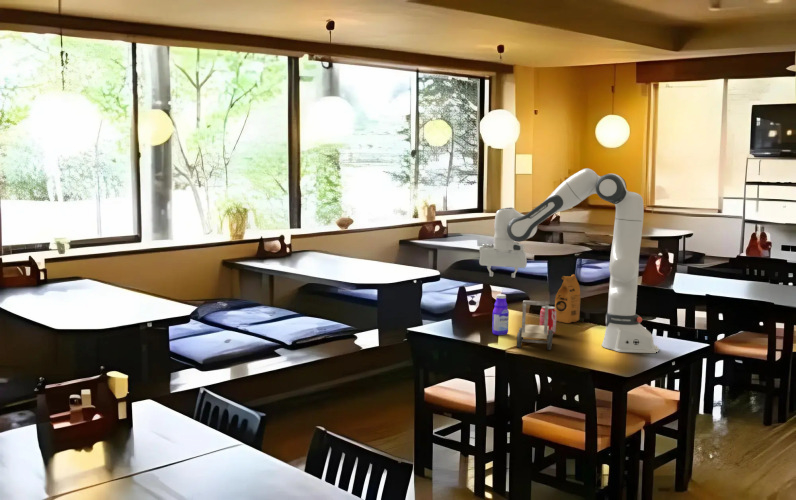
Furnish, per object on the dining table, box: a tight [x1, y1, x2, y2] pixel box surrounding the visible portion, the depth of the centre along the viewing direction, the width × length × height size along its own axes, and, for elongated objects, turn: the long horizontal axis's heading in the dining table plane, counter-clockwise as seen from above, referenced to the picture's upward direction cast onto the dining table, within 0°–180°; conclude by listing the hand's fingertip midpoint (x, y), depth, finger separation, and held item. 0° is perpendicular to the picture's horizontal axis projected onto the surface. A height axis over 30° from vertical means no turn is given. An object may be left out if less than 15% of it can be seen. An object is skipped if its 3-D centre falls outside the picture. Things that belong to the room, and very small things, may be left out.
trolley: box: [516, 299, 554, 351], centre depth 322 cm, size 14×16×20 cm
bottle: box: [491, 293, 510, 336], centre depth 343 cm, size 7×6×17 cm
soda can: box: [539, 305, 557, 335], centre depth 346 cm, size 7×7×12 cm
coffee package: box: [554, 273, 581, 324], centre depth 376 cm, size 10×12×22 cm
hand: (502, 276), depth 341 cm, fingers open, 8 cm apart
